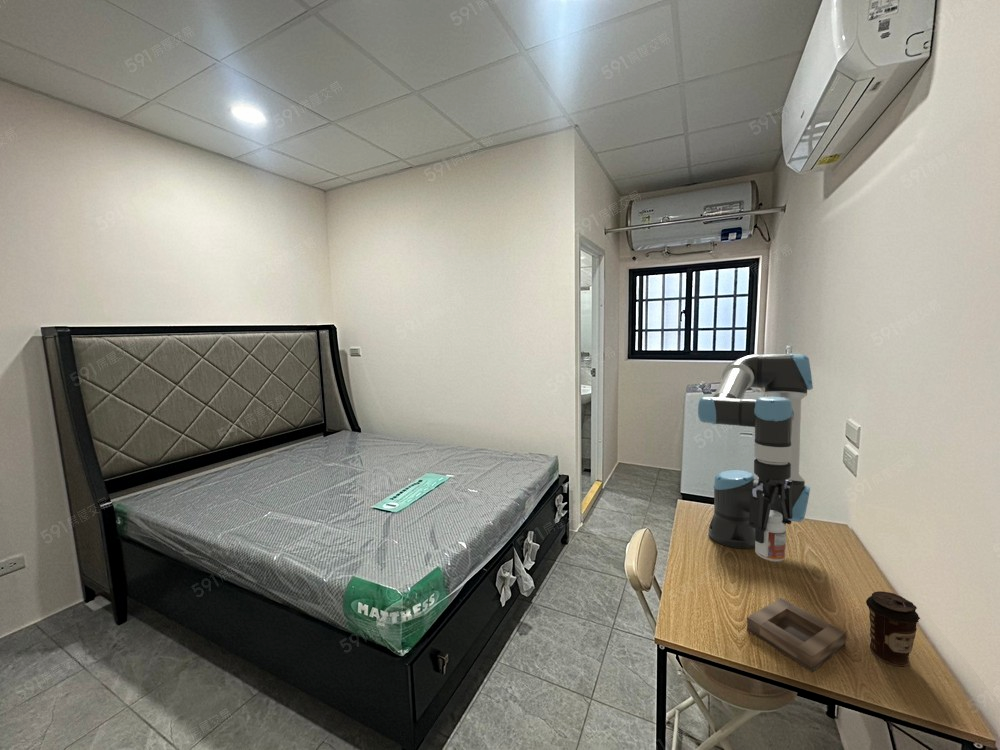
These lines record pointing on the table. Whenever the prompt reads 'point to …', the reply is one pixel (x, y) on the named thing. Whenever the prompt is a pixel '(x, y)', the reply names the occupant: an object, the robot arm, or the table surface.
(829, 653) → the bore block
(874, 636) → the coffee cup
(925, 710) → the table surface
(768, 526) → the pill bottle
